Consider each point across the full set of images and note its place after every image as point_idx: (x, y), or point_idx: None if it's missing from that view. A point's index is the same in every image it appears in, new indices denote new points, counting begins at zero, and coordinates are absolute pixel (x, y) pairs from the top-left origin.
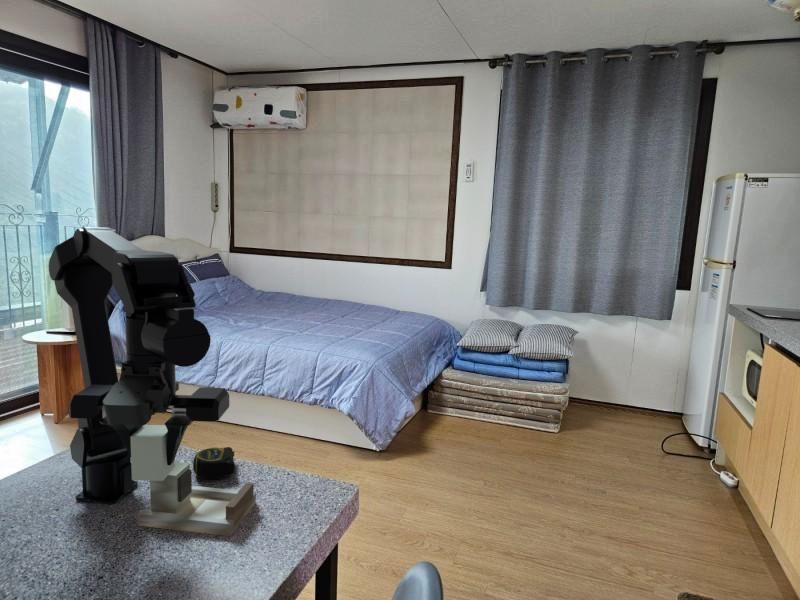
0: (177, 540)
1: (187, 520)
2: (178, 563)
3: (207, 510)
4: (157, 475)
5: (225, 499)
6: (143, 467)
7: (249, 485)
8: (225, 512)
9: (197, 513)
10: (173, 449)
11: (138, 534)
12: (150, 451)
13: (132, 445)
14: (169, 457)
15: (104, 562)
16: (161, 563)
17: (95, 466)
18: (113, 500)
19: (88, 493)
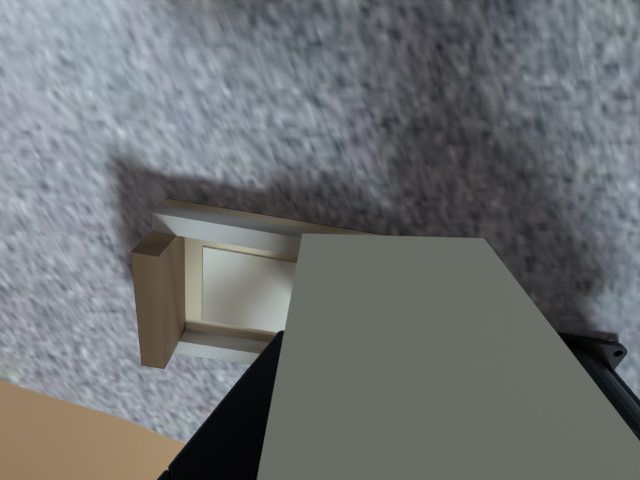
0: (301, 179)
1: (286, 234)
2: (254, 68)
3: (262, 290)
4: (333, 250)
5: (239, 334)
6: (432, 284)
7: (146, 356)
8: (211, 282)
9: (283, 278)
10: (210, 421)
11: (417, 206)
12: (397, 385)
13: (630, 456)
14: (267, 365)
15: (473, 71)
16: (303, 68)
17: (634, 426)
18: None
19: (598, 358)
